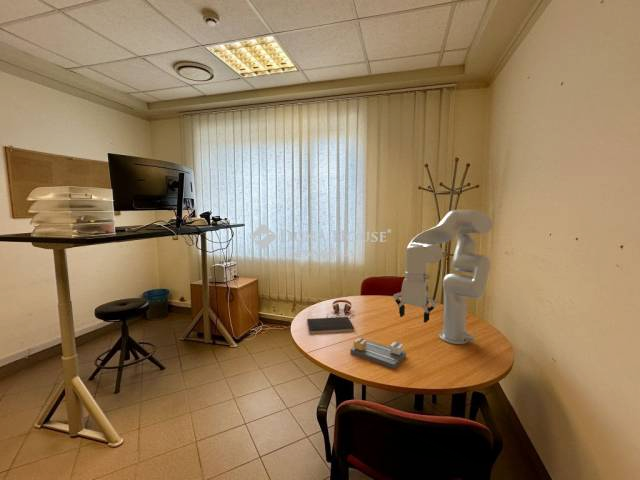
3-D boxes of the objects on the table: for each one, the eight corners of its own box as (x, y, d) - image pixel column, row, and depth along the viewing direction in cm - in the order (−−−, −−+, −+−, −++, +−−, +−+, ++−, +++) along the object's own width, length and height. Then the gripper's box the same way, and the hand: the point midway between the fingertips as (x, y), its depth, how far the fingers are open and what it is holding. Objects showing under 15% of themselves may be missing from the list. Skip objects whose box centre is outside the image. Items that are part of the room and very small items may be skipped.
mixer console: (405, 356, 120) (405, 351, 120) (394, 369, 111) (394, 364, 111) (364, 343, 132) (364, 338, 132) (350, 353, 123) (350, 348, 123)
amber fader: (366, 347, 124) (366, 339, 123) (361, 350, 120) (361, 342, 120) (358, 344, 126) (358, 336, 126) (353, 347, 123) (353, 339, 122)
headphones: (325, 314, 161) (328, 296, 180) (326, 322, 163) (328, 303, 182) (355, 316, 159) (355, 297, 178) (355, 324, 161) (355, 304, 180)
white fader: (402, 351, 120) (403, 343, 119) (399, 355, 117) (399, 346, 116) (393, 348, 122) (394, 340, 122) (389, 352, 119) (390, 343, 119)
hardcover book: (354, 332, 145) (354, 328, 145) (309, 335, 142) (309, 330, 142) (347, 320, 161) (347, 316, 161) (307, 322, 158) (307, 318, 158)
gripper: (441, 278, 109) (439, 321, 111) (398, 272, 120) (396, 311, 122) (435, 282, 103) (433, 327, 105) (390, 275, 114) (389, 316, 116)
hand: (413, 318), depth 113 cm, fingers open, 9 cm apart
